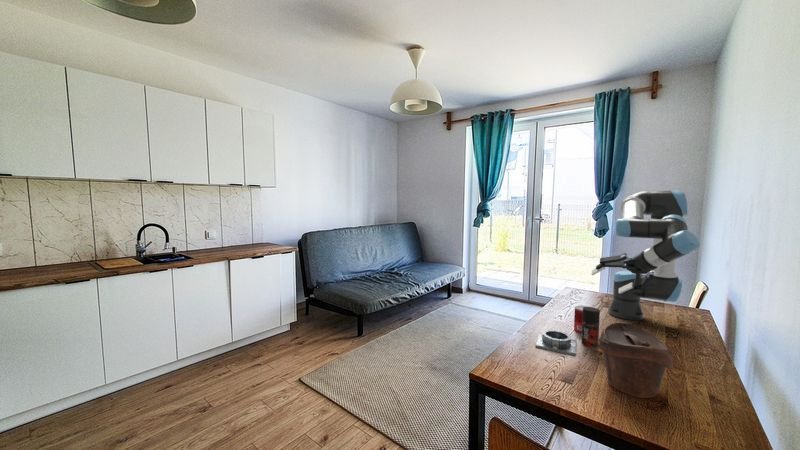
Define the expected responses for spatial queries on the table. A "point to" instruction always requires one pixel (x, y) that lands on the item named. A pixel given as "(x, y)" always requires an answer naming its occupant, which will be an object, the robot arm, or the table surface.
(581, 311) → the canned food
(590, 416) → the table surface
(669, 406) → the table surface
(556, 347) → the hub socket
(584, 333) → the deodorant
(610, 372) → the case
